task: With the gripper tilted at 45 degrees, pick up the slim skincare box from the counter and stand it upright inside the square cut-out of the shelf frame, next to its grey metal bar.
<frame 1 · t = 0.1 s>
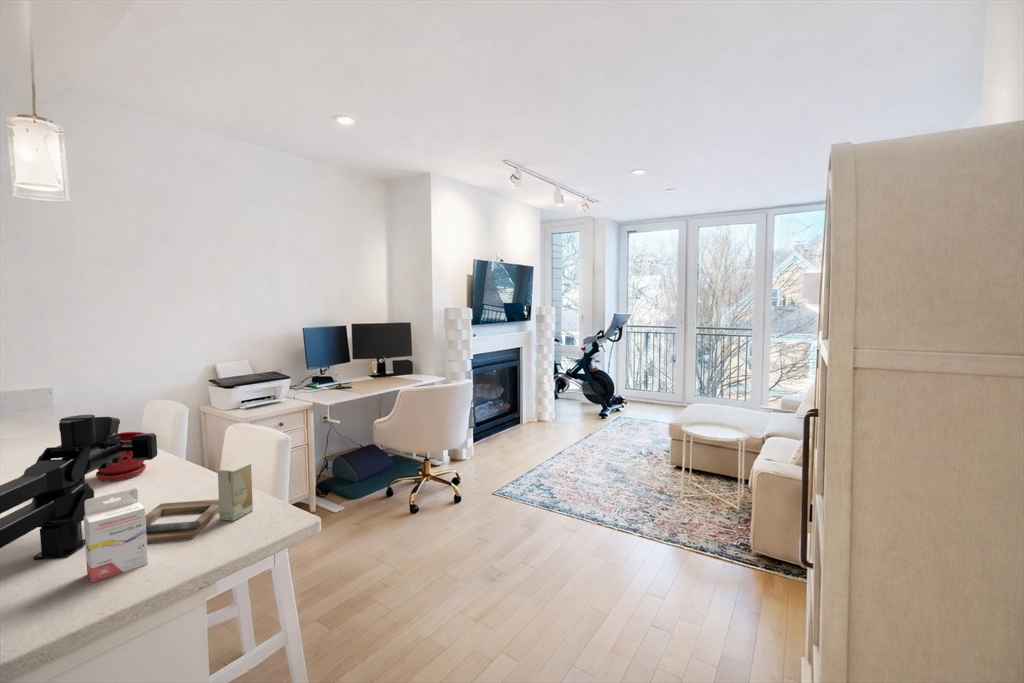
hand: (132, 438, 120), 17 cm above the counter, tool horizontal, fingers open, 9 cm apart
shelf frame: (175, 523, 109), on the counter
plant pot: (122, 476, 139), on the counter
skincare box: (237, 515, 113), on the counter
ink cartridge box: (118, 570, 90), on the counter
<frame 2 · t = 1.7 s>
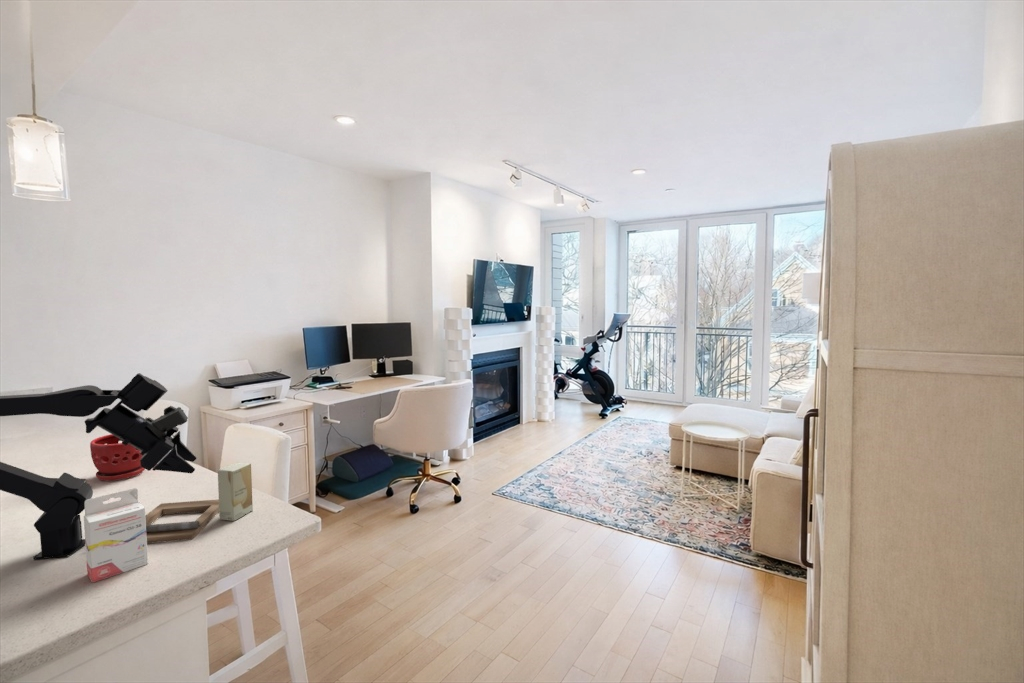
hand: (194, 465, 108), 14 cm above the counter, tool tilted 45°, fingers open, 9 cm apart
nothing on the counter moved.
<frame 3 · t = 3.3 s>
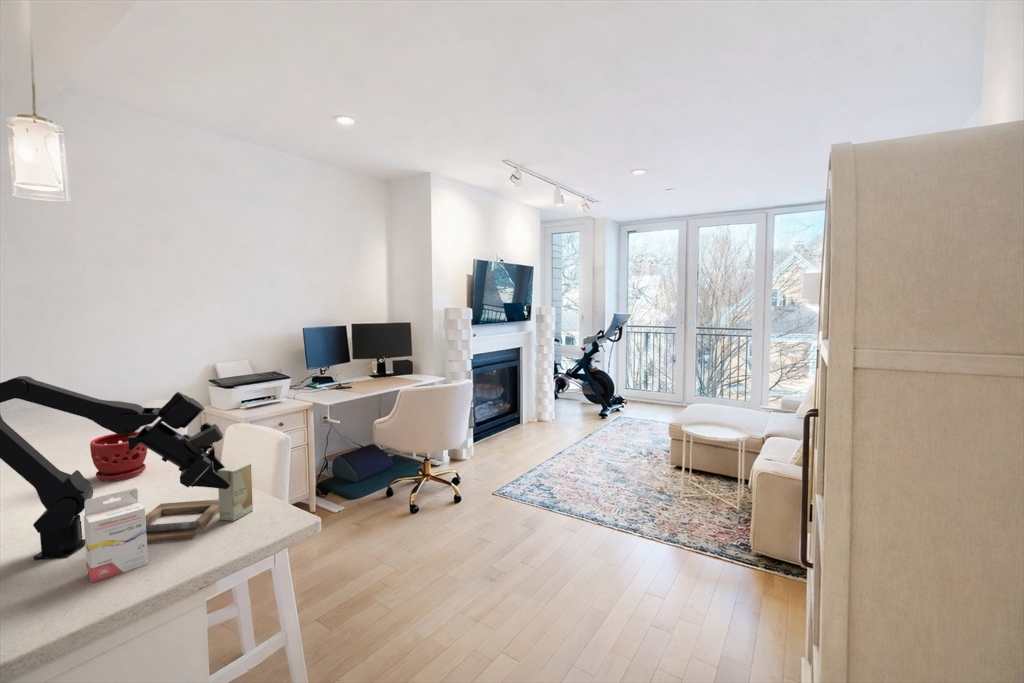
hand: (228, 480, 111), 9 cm above the counter, tool tilted 45°, fingers open, 9 cm apart
nothing on the counter moved.
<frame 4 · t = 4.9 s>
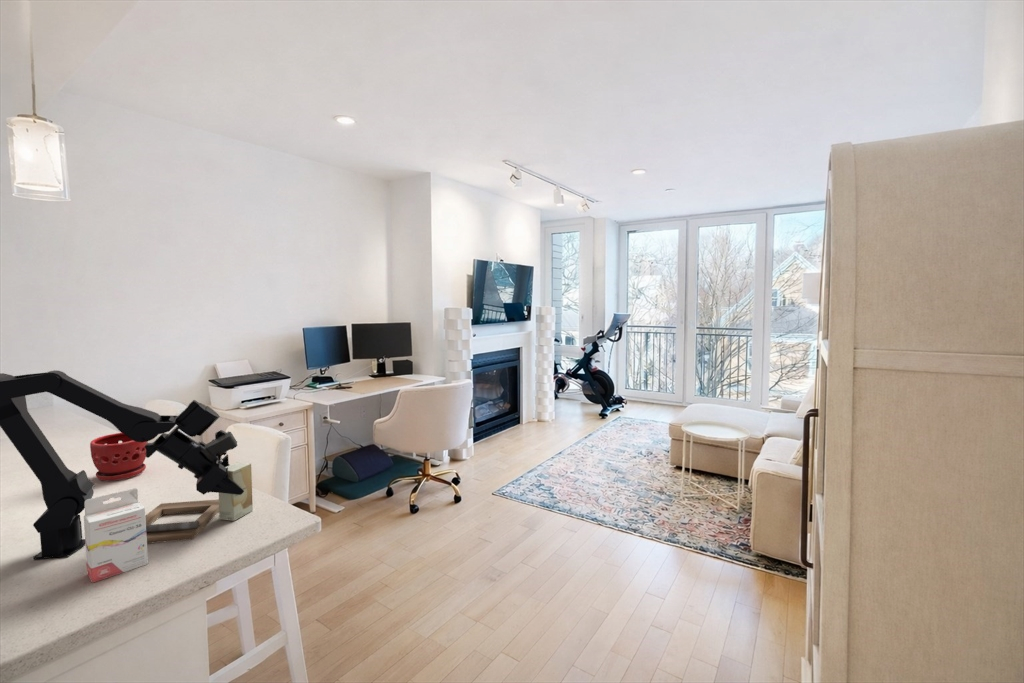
hand: (242, 487, 113), 7 cm above the counter, tool tilted 45°, fingers closed on skincare box, 7 cm apart
skincare box: (237, 515, 113), on the counter, touching gripper
everything else where it was.
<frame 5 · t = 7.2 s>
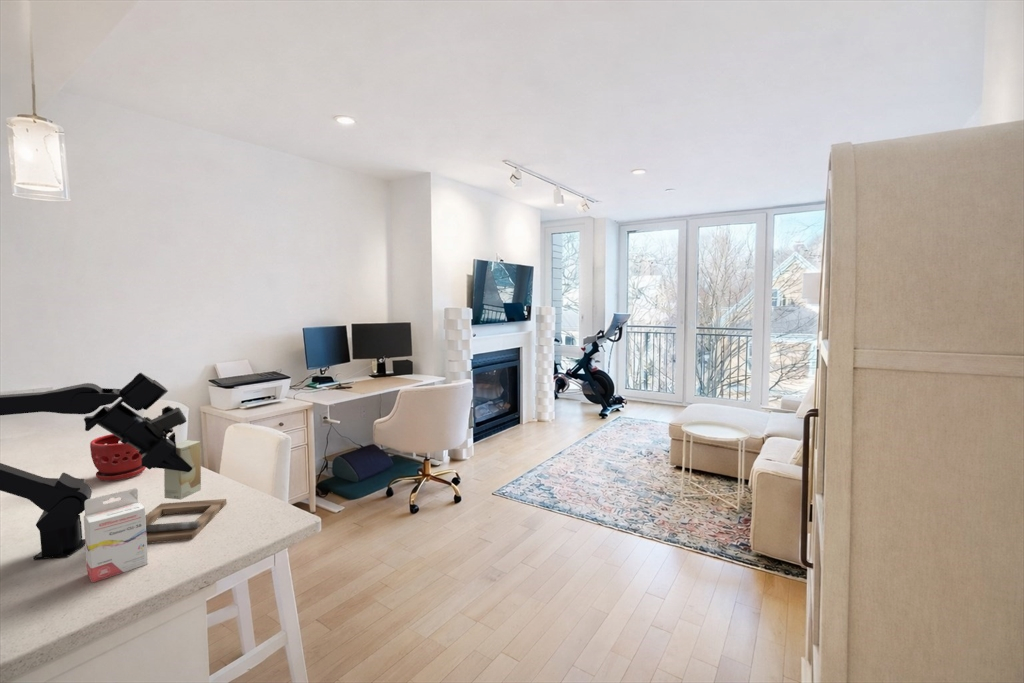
hand: (190, 465, 109), 13 cm above the counter, tool tilted 45°, fingers closed on skincare box, 7 cm apart
skincare box: (183, 495, 109), point 7 cm above the counter, touching gripper
everything else where it was.
when the fingers open (8 cm above the counter, at t = 9.7 s): skincare box drops 1 cm, resting in shelf frame.
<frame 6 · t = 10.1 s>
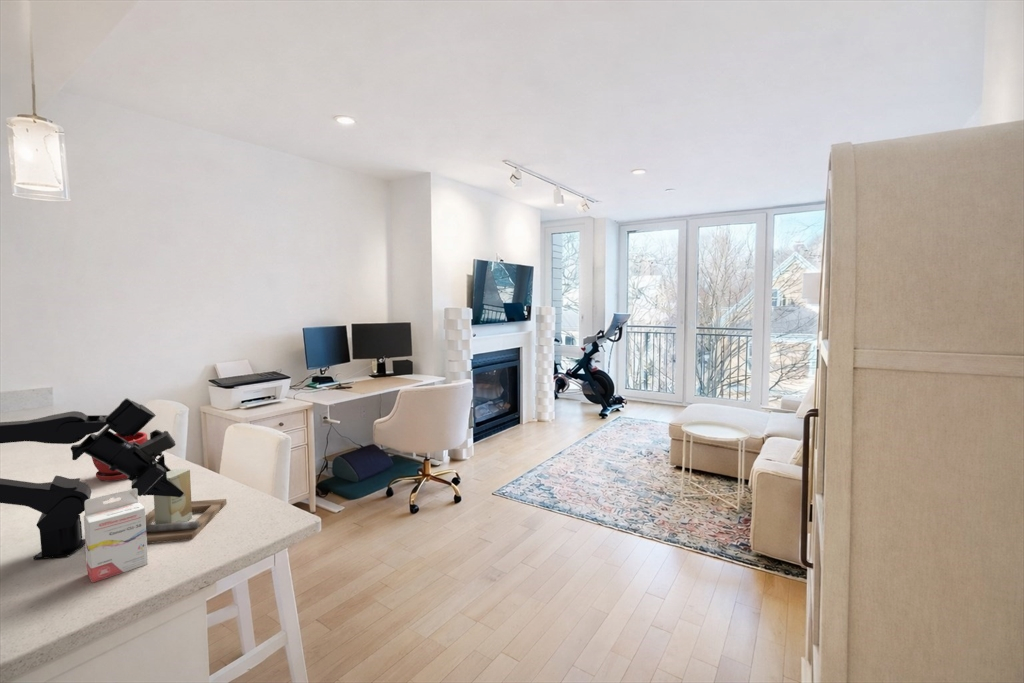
hand: (181, 488, 109), 8 cm above the counter, tool tilted 45°, fingers open, 9 cm apart
skincare box: (174, 524, 109), resting in shelf frame
everything else where it was.
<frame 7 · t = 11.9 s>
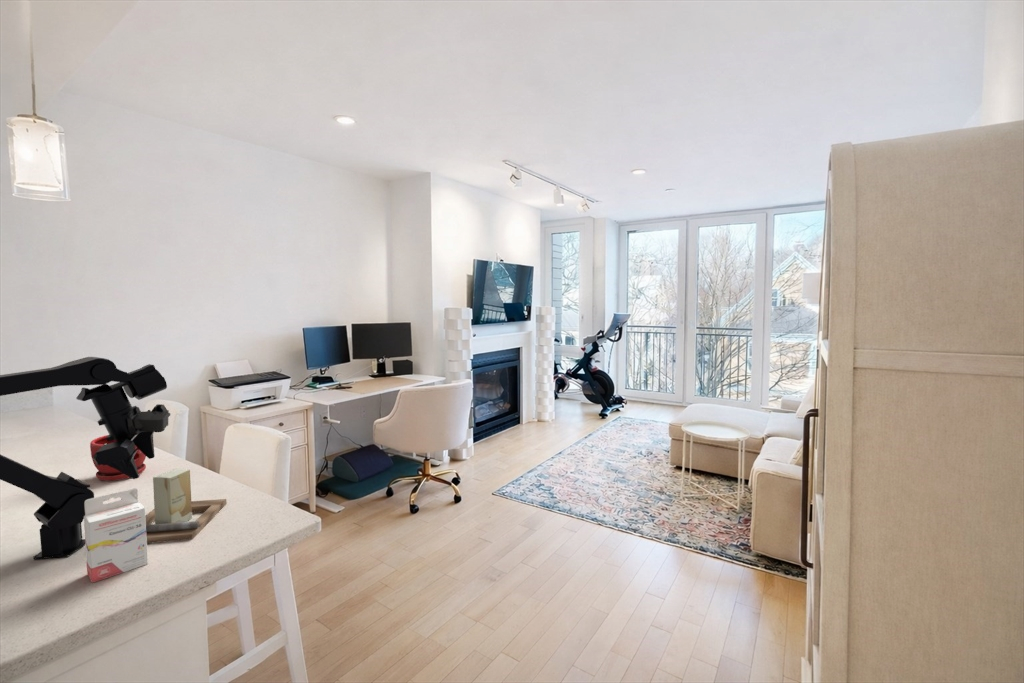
hand: (144, 467, 108), 13 cm above the counter, tool tilted 15°, fingers open, 9 cm apart
nothing on the counter moved.
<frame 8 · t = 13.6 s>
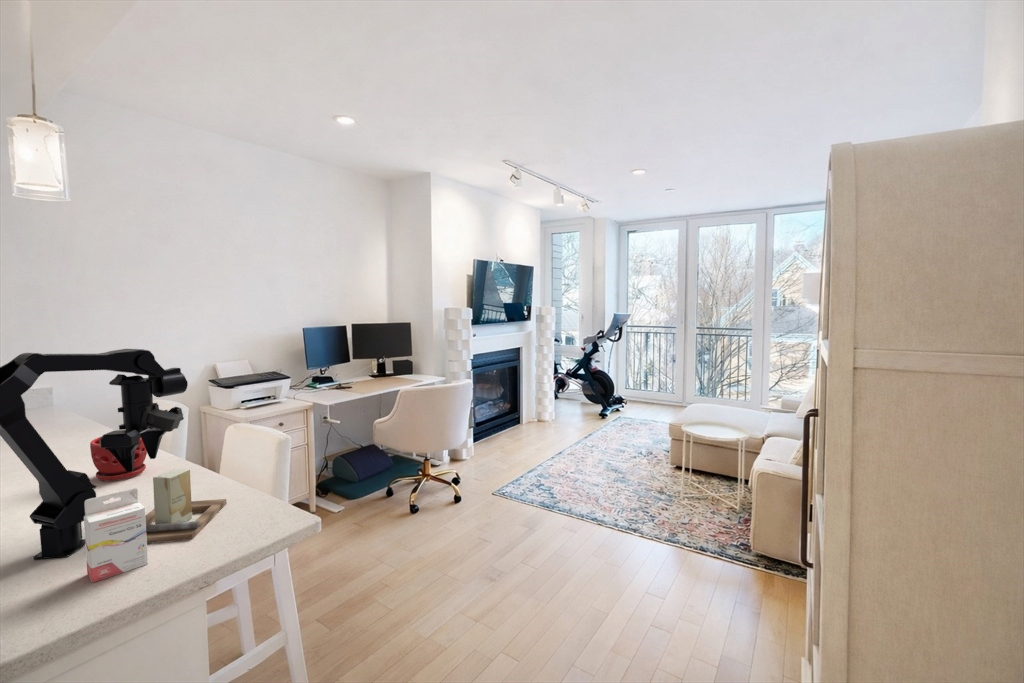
hand: (141, 465, 111), 13 cm above the counter, tool pointing down, fingers open, 9 cm apart
nothing on the counter moved.
at the end: skincare box 0.3 cm off-centre on the shelf frame, point 0.0 cm above the shelf frame's base; skincare box tilted 0°; the gripper is holding nothing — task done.
